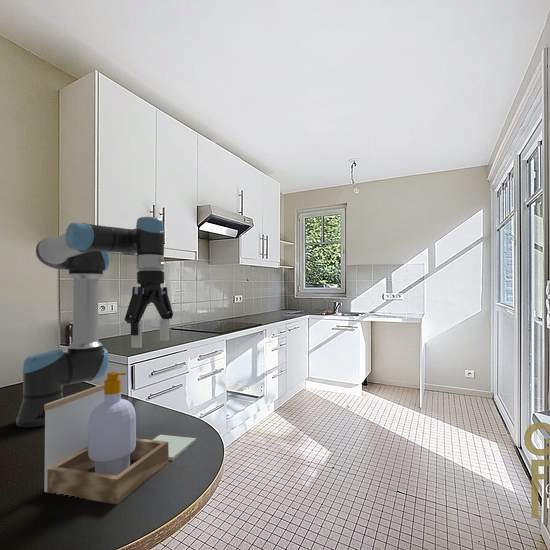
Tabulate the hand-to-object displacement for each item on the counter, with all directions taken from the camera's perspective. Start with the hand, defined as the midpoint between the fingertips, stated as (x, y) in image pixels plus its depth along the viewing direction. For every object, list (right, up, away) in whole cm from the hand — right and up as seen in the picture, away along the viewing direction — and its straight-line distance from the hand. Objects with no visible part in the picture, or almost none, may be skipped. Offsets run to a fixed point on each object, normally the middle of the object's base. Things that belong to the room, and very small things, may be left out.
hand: (151, 343), depth 100 cm
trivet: (+5, -29, -3) cm, 29 cm away
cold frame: (-3, -28, -18) cm, 33 cm away
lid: (-12, -28, -15) cm, 34 cm away
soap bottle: (-3, -28, -18) cm, 33 cm away
